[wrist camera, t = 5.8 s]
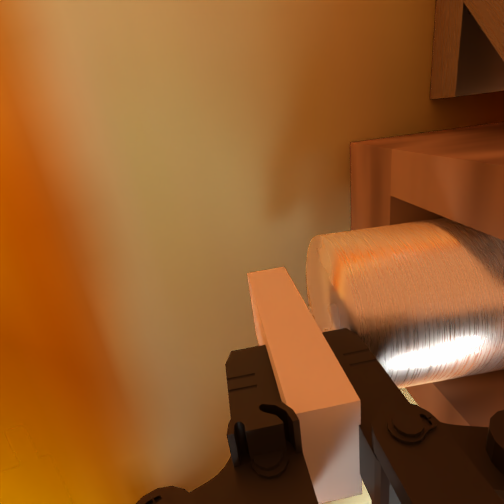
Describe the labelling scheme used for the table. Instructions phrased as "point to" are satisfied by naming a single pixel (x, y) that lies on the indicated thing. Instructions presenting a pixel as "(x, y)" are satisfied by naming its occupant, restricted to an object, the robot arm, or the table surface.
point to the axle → (413, 296)
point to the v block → (467, 48)
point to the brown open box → (433, 207)
